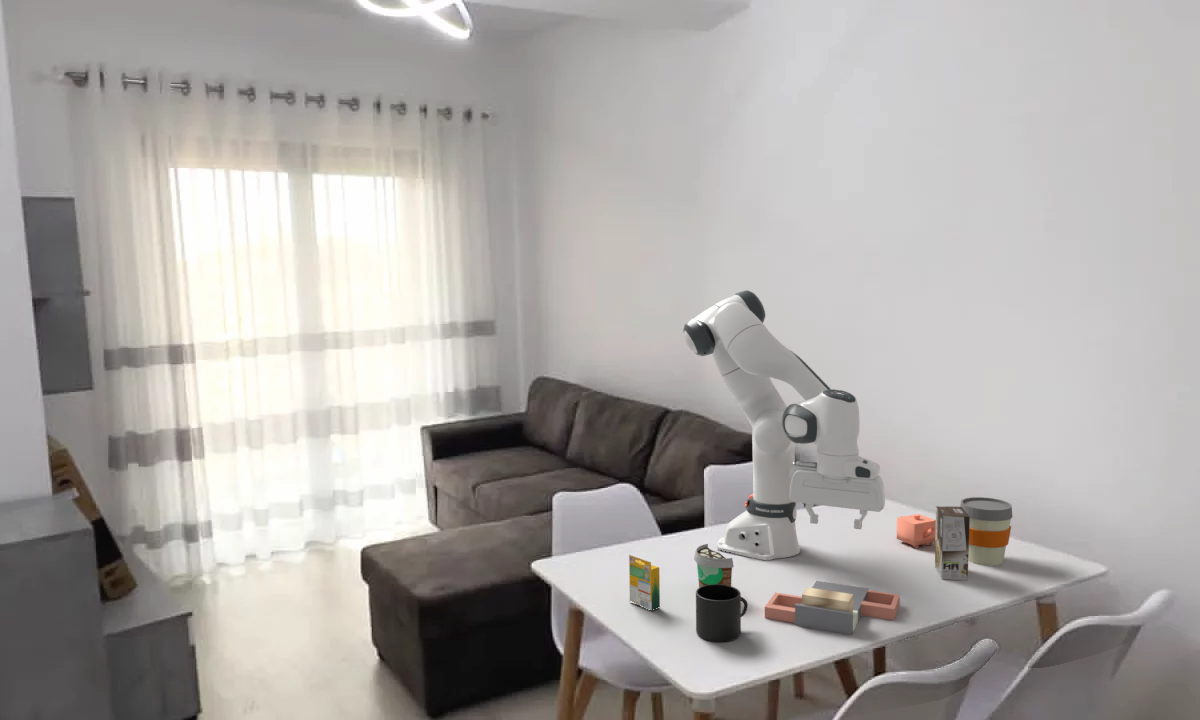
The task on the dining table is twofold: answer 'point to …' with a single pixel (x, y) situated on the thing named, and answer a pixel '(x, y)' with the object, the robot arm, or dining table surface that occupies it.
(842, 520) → the dining table surface
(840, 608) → the beech bar
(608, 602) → the dining table surface
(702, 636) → the mug
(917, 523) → the pink cube teapot
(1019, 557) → the dining table surface
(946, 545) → the coffee box
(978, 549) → the reusable coffee cup
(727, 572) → the food container
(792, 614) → the board
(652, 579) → the crayon box
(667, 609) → the dining table surface
